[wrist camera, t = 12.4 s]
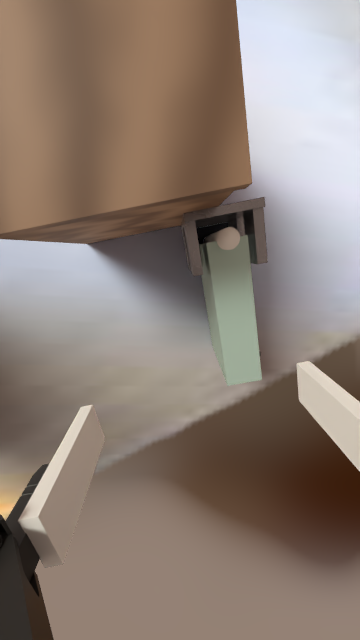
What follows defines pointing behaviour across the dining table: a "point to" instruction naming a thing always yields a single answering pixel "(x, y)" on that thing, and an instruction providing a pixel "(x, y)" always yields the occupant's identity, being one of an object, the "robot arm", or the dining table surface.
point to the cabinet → (117, 115)
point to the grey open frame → (238, 215)
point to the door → (231, 305)
